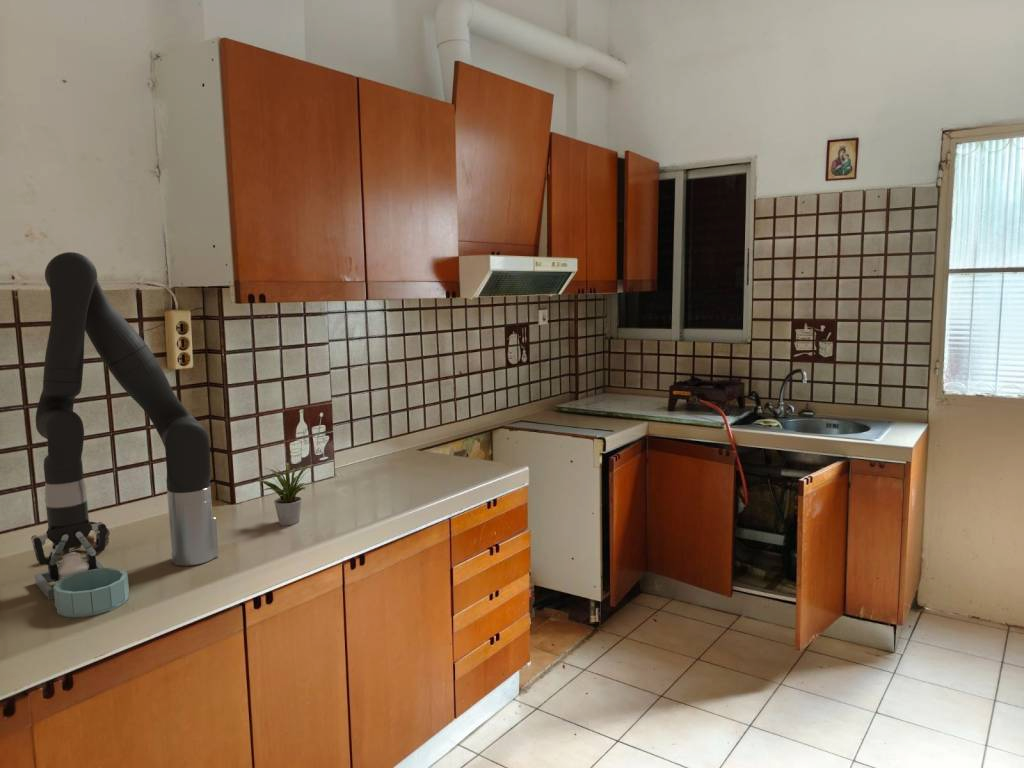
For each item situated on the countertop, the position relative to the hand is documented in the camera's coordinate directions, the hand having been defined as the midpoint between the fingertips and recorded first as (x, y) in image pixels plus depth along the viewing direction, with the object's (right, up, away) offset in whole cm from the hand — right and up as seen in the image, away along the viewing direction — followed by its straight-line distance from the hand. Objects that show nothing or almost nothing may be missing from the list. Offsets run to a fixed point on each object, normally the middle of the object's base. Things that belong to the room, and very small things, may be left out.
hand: (73, 575), depth 161 cm
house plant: (+35, +4, +41) cm, 54 cm away
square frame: (0, -2, 0) cm, 2 cm away
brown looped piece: (-9, 0, +18) cm, 20 cm away
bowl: (+10, -3, -10) cm, 15 cm away
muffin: (0, -2, 0) cm, 2 cm away
